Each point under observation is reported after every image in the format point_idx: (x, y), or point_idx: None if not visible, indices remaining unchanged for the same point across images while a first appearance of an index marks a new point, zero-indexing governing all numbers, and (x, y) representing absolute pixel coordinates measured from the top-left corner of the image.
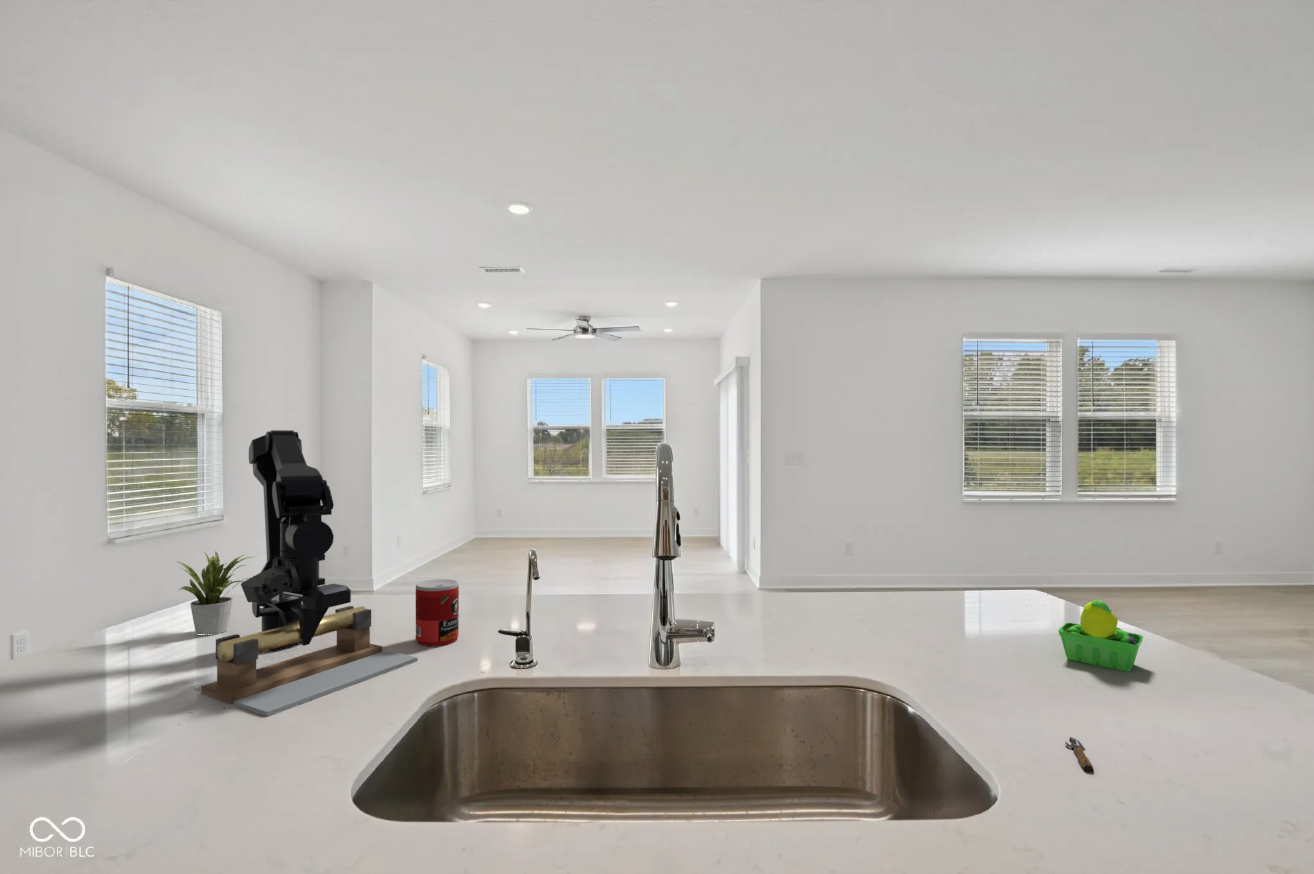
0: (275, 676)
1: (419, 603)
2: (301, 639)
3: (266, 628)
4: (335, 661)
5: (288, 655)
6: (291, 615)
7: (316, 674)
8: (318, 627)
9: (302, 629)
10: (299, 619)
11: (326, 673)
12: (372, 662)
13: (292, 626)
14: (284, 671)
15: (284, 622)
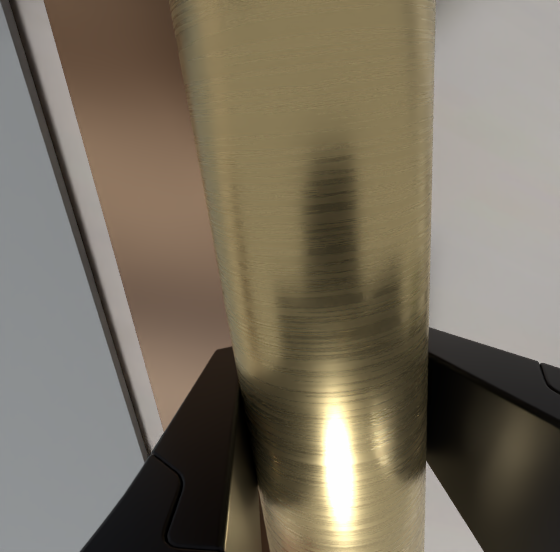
0: (161, 97)
1: None
2: (227, 365)
3: None
4: (163, 422)
5: (531, 327)
6: (540, 490)
7: (81, 296)
8: (270, 541)
9: (182, 431)
10: (208, 515)
11: (53, 336)
12: (55, 528)
13: (310, 385)
14: None
15: (522, 373)
